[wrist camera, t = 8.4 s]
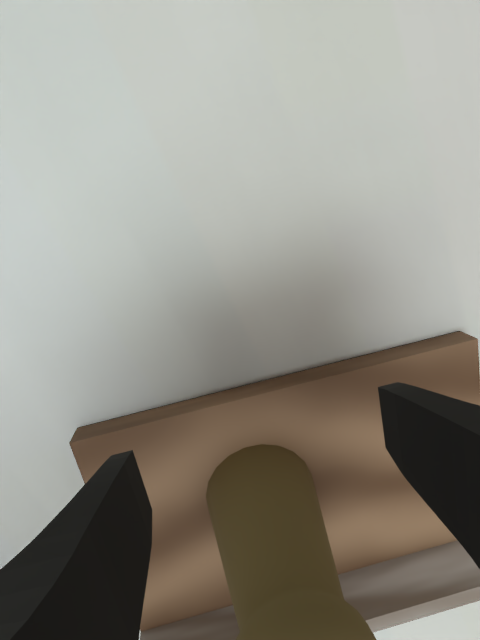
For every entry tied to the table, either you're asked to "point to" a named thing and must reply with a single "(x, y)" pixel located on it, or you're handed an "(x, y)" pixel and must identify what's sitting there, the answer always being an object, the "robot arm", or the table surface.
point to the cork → (278, 549)
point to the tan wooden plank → (328, 476)
